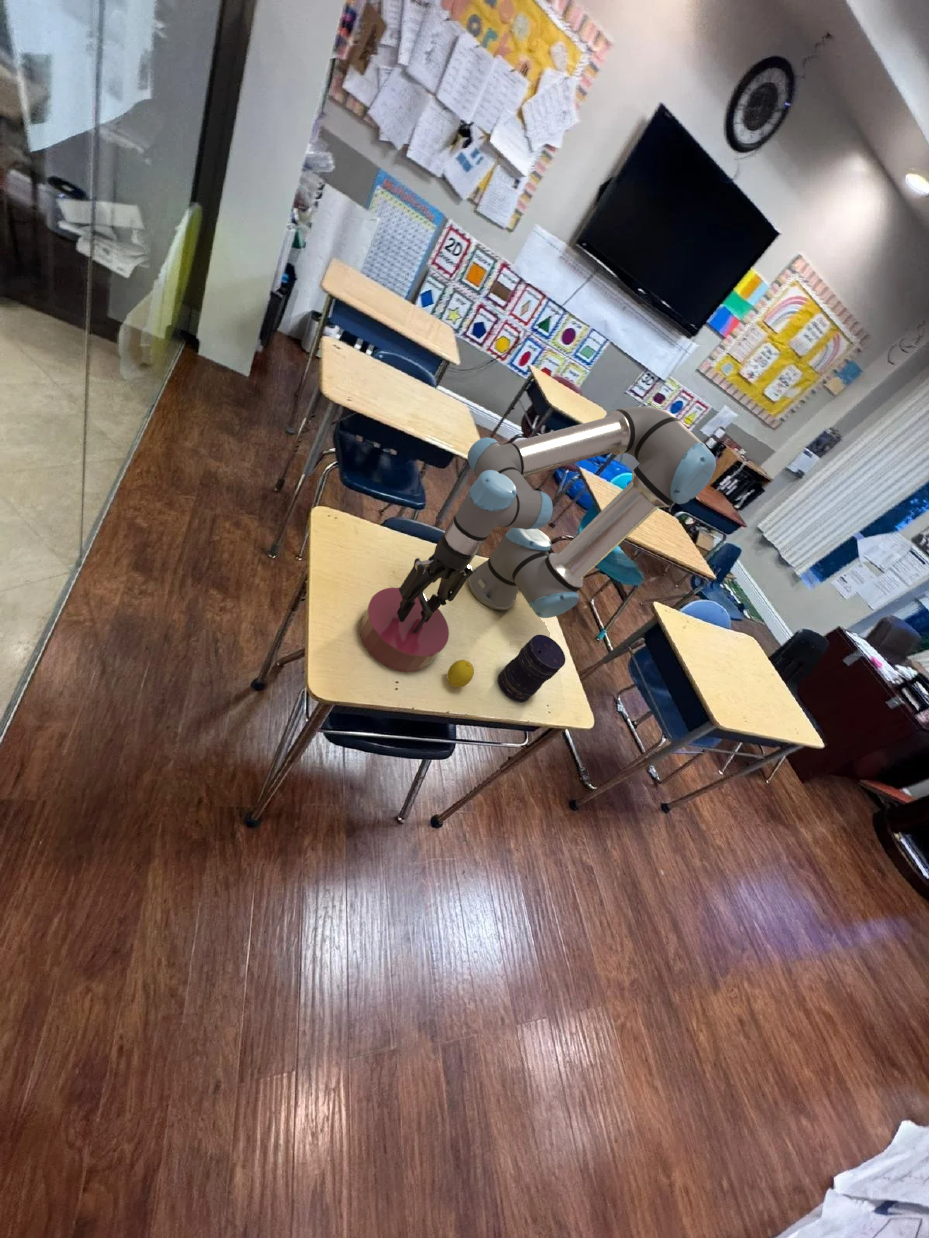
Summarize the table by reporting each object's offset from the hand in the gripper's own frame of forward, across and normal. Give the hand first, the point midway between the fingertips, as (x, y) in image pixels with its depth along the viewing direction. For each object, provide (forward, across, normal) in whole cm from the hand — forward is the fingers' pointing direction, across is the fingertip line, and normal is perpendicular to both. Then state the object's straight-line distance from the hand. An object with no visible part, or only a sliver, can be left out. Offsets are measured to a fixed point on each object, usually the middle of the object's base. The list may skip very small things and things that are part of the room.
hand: (412, 617), depth 115 cm
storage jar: (+8, -28, +15) cm, 33 cm away
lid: (+2, 0, 0) cm, 2 cm away
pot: (+8, 0, 0) cm, 8 cm away
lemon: (+8, -10, +13) cm, 18 cm away
